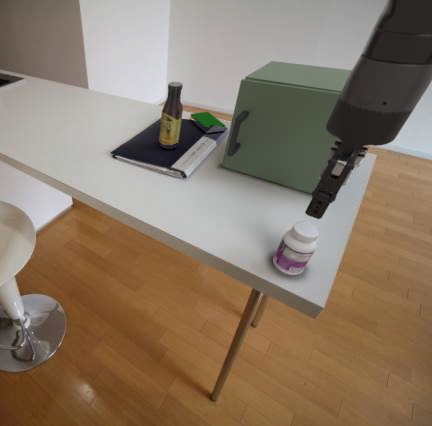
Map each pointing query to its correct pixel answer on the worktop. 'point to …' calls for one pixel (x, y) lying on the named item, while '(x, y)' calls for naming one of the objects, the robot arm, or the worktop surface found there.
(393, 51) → the robot arm
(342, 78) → the cupboard
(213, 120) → the dish sponge
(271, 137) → the cupboard door
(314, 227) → the pill bottle
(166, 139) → the sauce bottle
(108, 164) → the worktop surface
